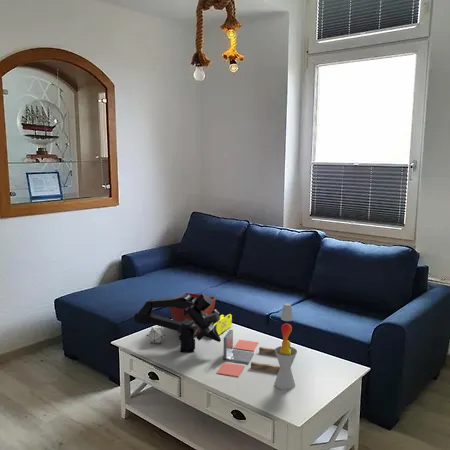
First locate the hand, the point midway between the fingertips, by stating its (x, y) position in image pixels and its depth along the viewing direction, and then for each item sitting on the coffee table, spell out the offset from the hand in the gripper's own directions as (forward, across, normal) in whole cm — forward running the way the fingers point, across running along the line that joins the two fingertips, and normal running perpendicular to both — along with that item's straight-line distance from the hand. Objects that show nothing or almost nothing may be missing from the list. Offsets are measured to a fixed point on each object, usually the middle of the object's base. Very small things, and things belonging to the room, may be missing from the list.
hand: (220, 341), depth 220 cm
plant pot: (-12, +23, +21) cm, 33 cm away
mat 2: (+11, +13, -2) cm, 17 cm away
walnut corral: (+22, 0, -13) cm, 26 cm away
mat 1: (+11, -13, -2) cm, 17 cm away
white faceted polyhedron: (-20, +2, +29) cm, 35 cm away
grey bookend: (+11, 0, -2) cm, 11 cm away
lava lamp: (+29, -18, -19) cm, 39 cm away
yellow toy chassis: (-1, +26, +11) cm, 28 cm away
